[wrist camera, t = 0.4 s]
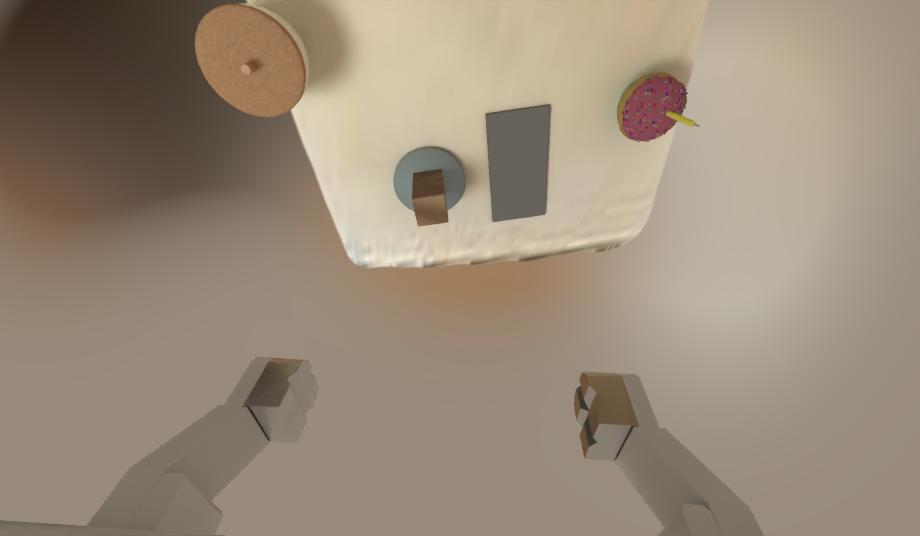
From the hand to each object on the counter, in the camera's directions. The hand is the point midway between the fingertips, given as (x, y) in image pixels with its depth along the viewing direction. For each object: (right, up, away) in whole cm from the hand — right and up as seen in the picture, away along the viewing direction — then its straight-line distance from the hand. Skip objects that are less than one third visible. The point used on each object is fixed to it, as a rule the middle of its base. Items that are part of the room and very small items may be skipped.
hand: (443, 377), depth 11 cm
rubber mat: (+10, +19, +47) cm, 51 cm away
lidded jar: (-22, +30, +34) cm, 51 cm away
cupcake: (+25, +27, +41) cm, 56 cm away
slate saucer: (-4, +17, +47) cm, 50 cm away
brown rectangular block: (-4, +16, +46) cm, 49 cm away
